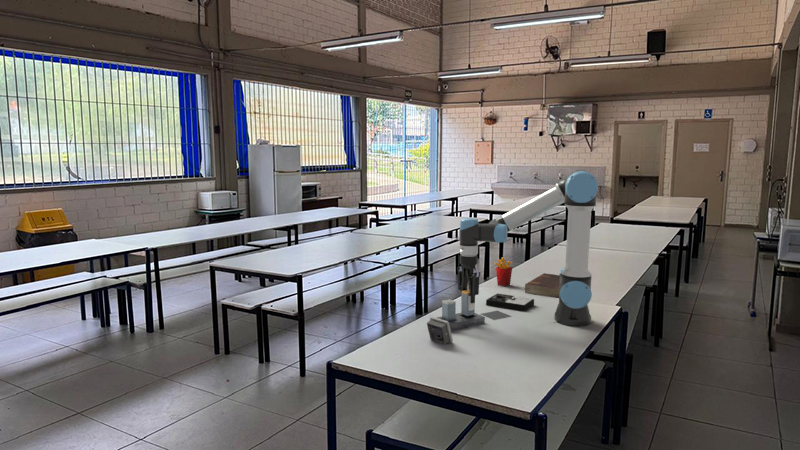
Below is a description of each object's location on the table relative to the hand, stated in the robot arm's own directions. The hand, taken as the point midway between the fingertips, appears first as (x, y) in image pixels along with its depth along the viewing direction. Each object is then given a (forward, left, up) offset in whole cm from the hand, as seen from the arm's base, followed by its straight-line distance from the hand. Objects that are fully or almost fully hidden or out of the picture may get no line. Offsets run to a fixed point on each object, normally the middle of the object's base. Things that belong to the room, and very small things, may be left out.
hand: (467, 308), depth 228 cm
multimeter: (+10, -32, -7) cm, 34 cm away
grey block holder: (0, +5, -6) cm, 8 cm away
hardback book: (+22, -71, -7) cm, 75 cm away
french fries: (+42, -54, -6) cm, 69 cm away
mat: (+1, -16, -6) cm, 17 cm away
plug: (0, 0, -2) cm, 2 cm away
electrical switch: (-13, +23, -6) cm, 27 cm away
